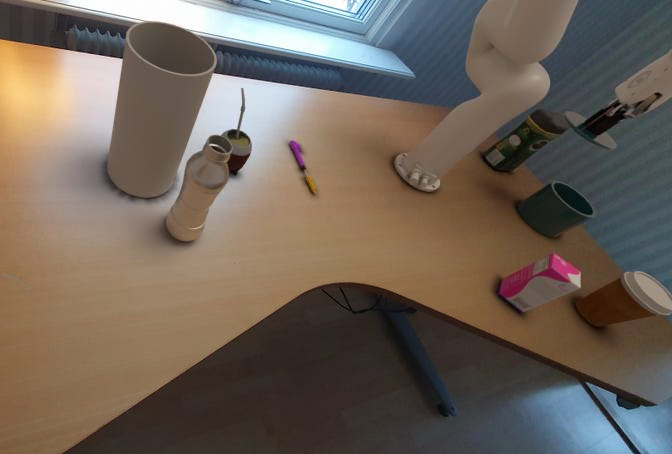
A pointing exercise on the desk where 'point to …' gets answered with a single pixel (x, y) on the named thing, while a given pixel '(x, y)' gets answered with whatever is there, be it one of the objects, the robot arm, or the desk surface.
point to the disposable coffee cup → (626, 300)
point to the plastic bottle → (199, 188)
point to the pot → (556, 209)
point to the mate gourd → (238, 144)
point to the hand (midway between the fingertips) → (591, 128)
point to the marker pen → (302, 163)
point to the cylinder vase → (157, 105)
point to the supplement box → (539, 283)
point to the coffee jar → (526, 139)
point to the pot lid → (580, 128)
